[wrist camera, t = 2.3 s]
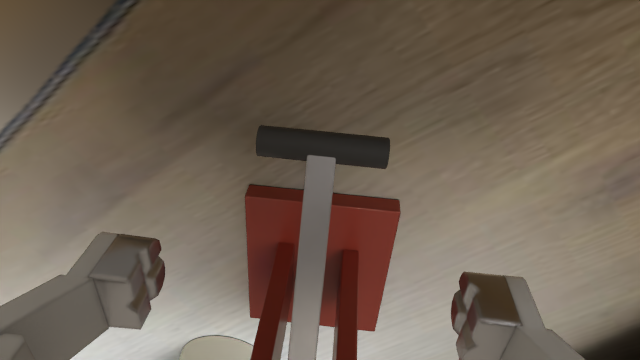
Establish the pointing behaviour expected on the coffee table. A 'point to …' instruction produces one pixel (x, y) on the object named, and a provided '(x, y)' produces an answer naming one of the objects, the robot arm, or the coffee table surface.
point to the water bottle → (216, 349)
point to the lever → (316, 212)
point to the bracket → (340, 268)
